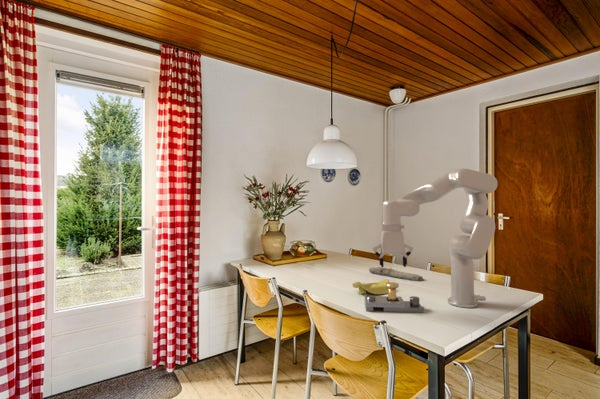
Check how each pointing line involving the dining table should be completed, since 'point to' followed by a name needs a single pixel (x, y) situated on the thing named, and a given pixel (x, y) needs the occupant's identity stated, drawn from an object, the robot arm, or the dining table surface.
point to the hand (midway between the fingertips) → (393, 266)
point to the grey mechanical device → (393, 304)
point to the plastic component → (372, 287)
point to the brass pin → (392, 290)
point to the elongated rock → (395, 274)
